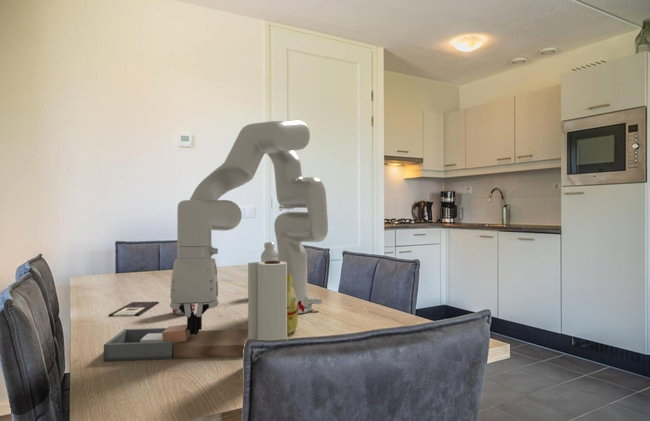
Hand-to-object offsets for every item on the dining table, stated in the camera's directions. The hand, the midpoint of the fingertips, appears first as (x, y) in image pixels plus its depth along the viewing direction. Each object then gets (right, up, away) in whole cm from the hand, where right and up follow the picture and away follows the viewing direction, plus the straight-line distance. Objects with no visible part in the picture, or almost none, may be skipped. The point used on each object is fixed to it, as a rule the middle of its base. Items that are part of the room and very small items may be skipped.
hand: (194, 332), depth 97 cm
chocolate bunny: (+21, -4, +16) cm, 27 cm away
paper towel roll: (+19, -4, -10) cm, 22 cm away
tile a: (-4, -1, 0) cm, 4 cm away
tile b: (-9, -3, 0) cm, 9 cm away
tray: (-11, -4, -1) cm, 11 cm away
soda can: (-14, -4, +35) cm, 38 cm away
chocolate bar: (-32, -5, +40) cm, 51 cm away
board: (+5, -4, +1) cm, 6 cm away
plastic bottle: (+9, -4, +63) cm, 63 cm away
